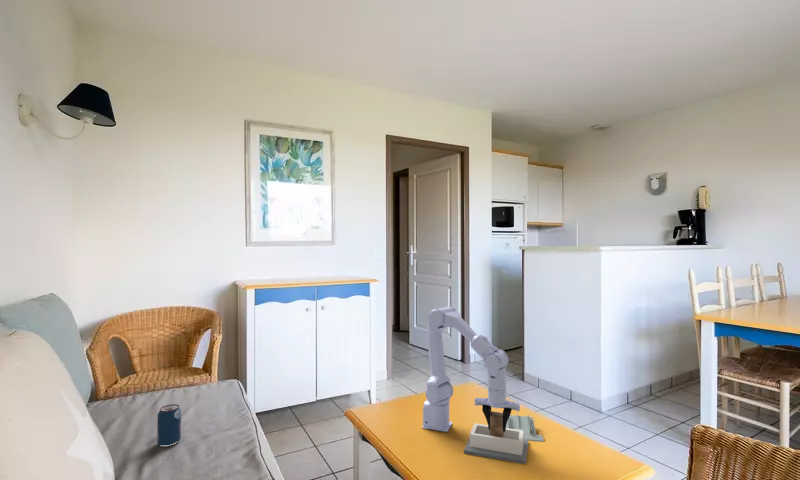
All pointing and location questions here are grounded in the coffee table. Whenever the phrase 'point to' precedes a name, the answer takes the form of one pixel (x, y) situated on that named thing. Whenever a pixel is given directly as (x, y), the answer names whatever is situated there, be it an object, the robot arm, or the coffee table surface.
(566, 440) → the coffee table surface
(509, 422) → the metal bracket
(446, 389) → the robot arm
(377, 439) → the coffee table surface
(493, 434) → the walnut block
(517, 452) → the well
